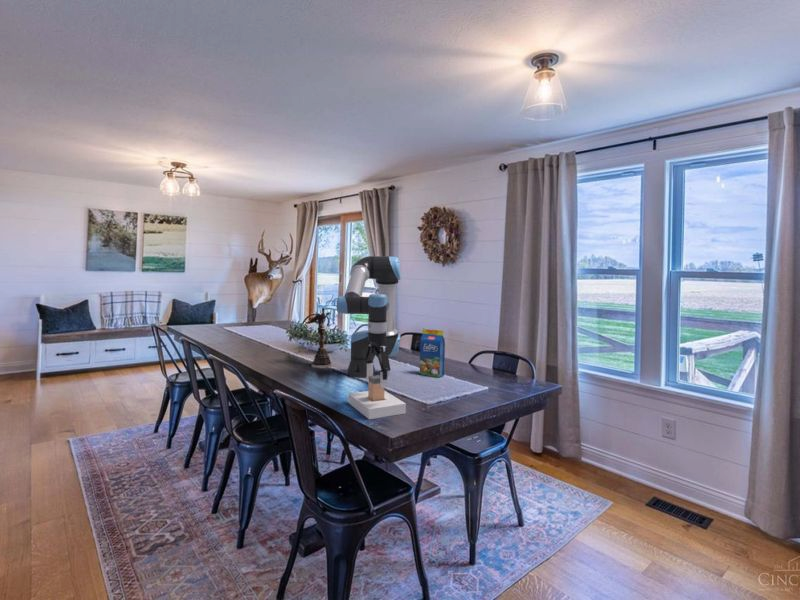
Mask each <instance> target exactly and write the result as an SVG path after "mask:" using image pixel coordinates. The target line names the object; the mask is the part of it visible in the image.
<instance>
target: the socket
mask: <svg viewBox="0 0 800 600" xmlns="http://www.w3.org/2000/svg"><path fill="white" fill-rule="evenodd" d="M347 396H348V398H347V401H348V403H349V405H350V406H352V407H353V408H354V409H355V410H357V411H358V412H359V413H360V414H362V415H363V416H365V418H367V419H368V420H374V419H380V418H386V417H392V416H398V415H404V414H406V413H407V403H406V402H404V401H403V400H401V399H399V398H398V397H396V396H395V395H392V394H391V393H389V392H387V391H386V390H384V400H381V401H374V402H372V401H371V400H369V399H368V390H365V391H359V392H357V391H356V392H350V393H348V395H347Z"/></svg>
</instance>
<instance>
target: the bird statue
mask: <svg viewBox="0 0 800 600" xmlns="http://www.w3.org/2000/svg"><path fill="white" fill-rule="evenodd" d="M325 308H326V307H322V308H321V313H320V312H318V311H317V310H316V311H315V312H314V313H315V315H314V316H312V318H311V319H309V320H305V323H304V324H305V325H308V324H313V323H317V322H318V327H317V332H318V333H319V339H318V340H319V342H320V343H319V347H318V349H317V352H316V354H314V359H313V362H311V368H313V369H327V368H331V367H332V361H331V359H330V355H329V353H328V352H327V350H326V349H327V347H325V346H324V345H325V343H324V342H325V339H324V338H325V337H324V336H325V333H326V331H327V328H326V324H325V323H324V320H325V319H326V317H328V316H329V315H330V314H331V312H330V311H328V312H325Z"/></svg>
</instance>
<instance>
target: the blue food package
mask: <svg viewBox="0 0 800 600" xmlns="http://www.w3.org/2000/svg"><path fill="white" fill-rule="evenodd" d="M419 342H420V343H419V375H422V376H427V377H431V378H441V377H444V376H445V358H446V357H445V356H446V355H445V354H446V349H445V348H446V342H445V337H444V330H438V329H430V328H429V329H426V328H423V329H422V335H421V337H420V341H419Z"/></svg>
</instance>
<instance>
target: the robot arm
mask: <svg viewBox="0 0 800 600" xmlns="http://www.w3.org/2000/svg"><path fill="white" fill-rule="evenodd" d="M401 271H402V269H401V264H400V259H399V258H398V257H397V256H386V255H385V256H384V255H383V256H379V255H378V256H375V255H368V256H364V257H362V258H360V259H358V260H357V261H356V262H355V263H353V265H352V266H351V268H350V271H349V275H350V278H349V280H348V283H347V287H346V291H345V292H344V295H342V296H341V295H339V296H338V297H337V299H336V311H337V313H338V314H345V315H347V314H348V315H368V316H367V317H368V320H367V330H360V331H355V332H352V334H351V336H350V361H349V364H348V366H347V371H346V372H347V374H346V375H348V376H350V377H355V378H364V377H365V378H366V379H367V380H369V376H375V375H376V368H375V365H374V359H375V357H377V360H378V363H379V366H380V371H379V372H380V374H379V375H380V387H381V388H383V387H385V388H387V387H388V372H390V371H391V365H390V360H389V359H390V358H389V357H391V356H397V355H398V354H399V348H400V341H401V334H400V333H399V330H397V329H396V285H398V283H399V281H400V280H402V272H401ZM368 279H369V280H375V283H376V284H377V286H378V293H372V294H371V293H370V294H369V295H368V296H363V293H364V290H365V289H364V288H365V286H366V281H368Z"/></svg>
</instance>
